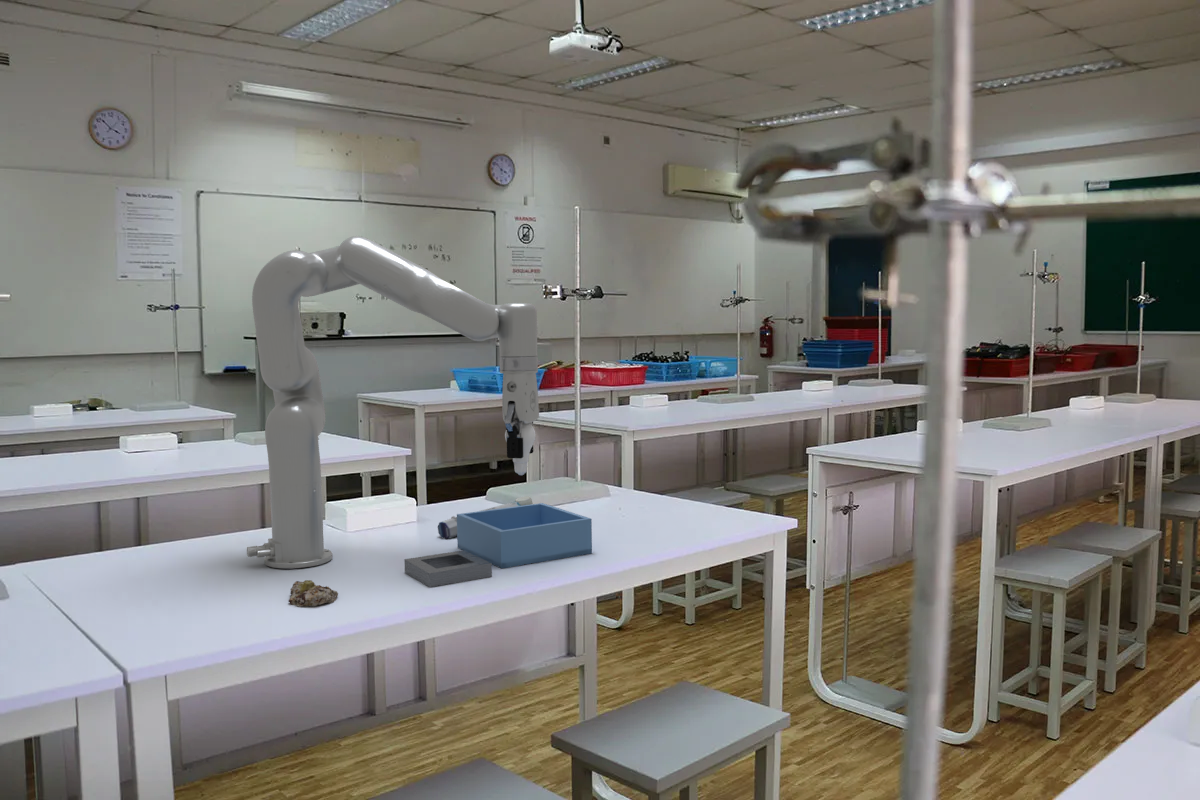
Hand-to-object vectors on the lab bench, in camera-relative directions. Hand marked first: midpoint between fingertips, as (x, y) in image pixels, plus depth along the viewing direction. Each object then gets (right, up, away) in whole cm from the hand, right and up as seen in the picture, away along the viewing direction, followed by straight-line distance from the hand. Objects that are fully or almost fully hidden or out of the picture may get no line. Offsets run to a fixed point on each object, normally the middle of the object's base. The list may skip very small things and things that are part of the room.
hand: (520, 454), depth 191 cm
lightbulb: (0, -4, 0) cm, 4 cm away
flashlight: (-9, -18, +22) cm, 30 cm away
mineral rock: (-33, -23, -30) cm, 50 cm away
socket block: (-12, -21, -16) cm, 29 cm away
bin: (0, -19, +2) cm, 20 cm away
